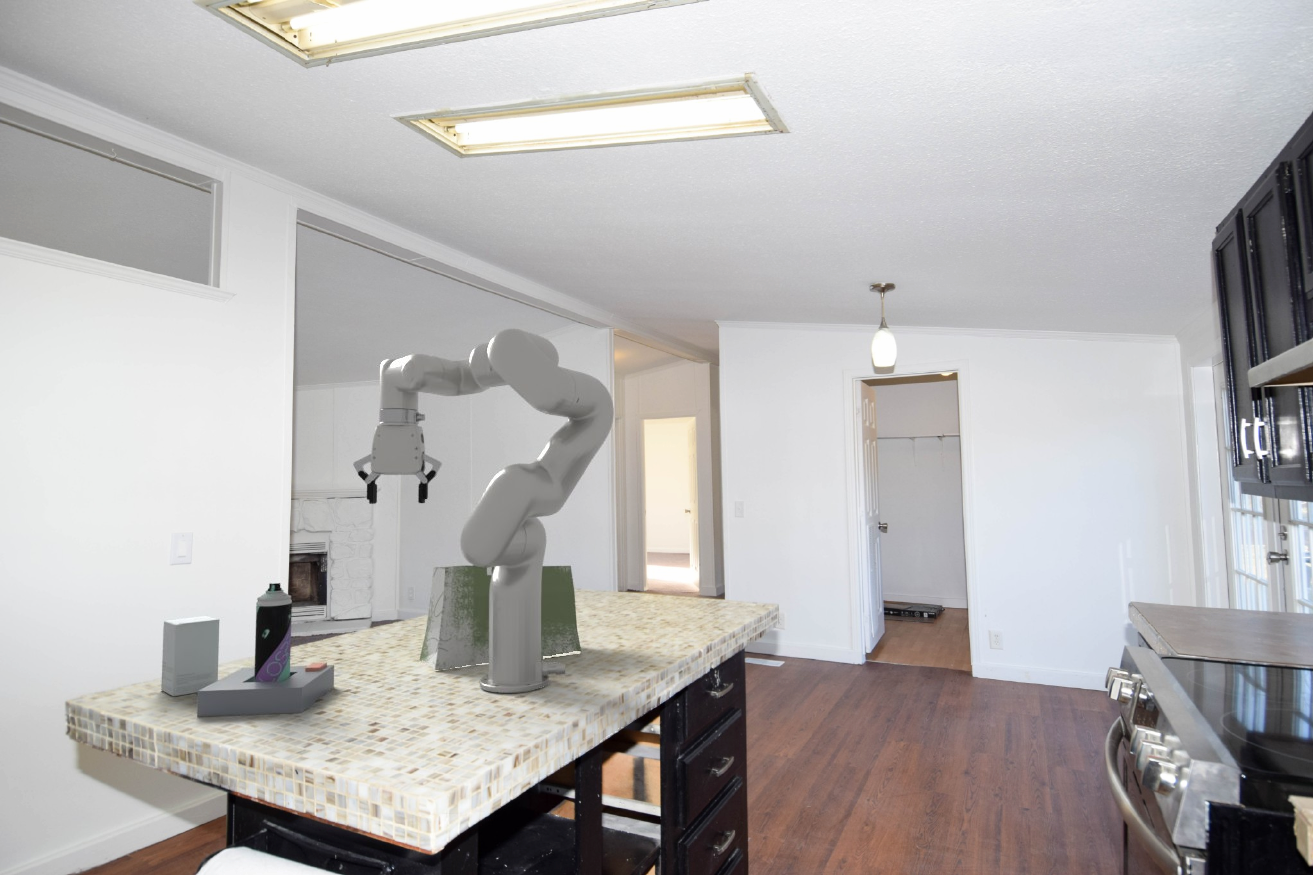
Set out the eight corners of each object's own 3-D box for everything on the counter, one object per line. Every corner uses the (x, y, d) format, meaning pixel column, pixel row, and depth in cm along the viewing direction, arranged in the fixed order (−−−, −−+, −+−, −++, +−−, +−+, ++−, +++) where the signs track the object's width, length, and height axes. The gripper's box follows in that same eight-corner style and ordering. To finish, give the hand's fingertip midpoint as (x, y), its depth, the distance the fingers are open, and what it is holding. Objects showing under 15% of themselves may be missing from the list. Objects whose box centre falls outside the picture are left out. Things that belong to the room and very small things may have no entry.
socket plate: (333, 687, 137) (334, 661, 138) (301, 712, 121) (302, 683, 122) (242, 690, 136) (242, 664, 136) (197, 716, 120) (198, 687, 120)
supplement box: (218, 689, 137) (220, 618, 138) (171, 697, 131) (174, 624, 132) (205, 682, 142) (207, 614, 143) (159, 690, 136) (162, 619, 137)
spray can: (258, 707, 125) (261, 585, 126) (249, 700, 129) (253, 583, 130) (293, 700, 128) (296, 582, 130) (284, 694, 132) (287, 580, 134)
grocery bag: (559, 643, 175) (559, 544, 177) (583, 654, 163) (582, 547, 165) (418, 659, 160) (420, 550, 161) (433, 673, 148) (434, 554, 149)
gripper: (445, 421, 158) (444, 502, 157) (360, 421, 156) (358, 503, 155) (438, 417, 151) (437, 503, 149) (349, 417, 149) (347, 504, 148)
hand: (397, 503), depth 152 cm, fingers open, 9 cm apart
